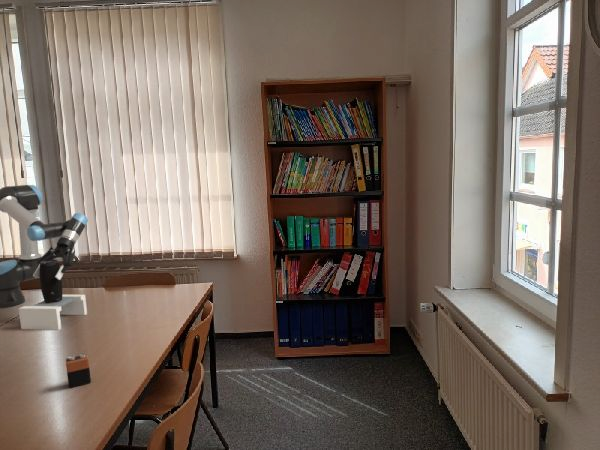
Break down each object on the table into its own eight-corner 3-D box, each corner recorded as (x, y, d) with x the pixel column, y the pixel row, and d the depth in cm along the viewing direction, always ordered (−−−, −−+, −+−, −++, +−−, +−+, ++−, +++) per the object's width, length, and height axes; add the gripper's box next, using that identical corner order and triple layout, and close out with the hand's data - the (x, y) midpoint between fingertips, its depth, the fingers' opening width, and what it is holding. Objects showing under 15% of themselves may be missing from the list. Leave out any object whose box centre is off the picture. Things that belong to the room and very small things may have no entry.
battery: (68, 383, 159) (65, 356, 158) (89, 378, 163) (86, 351, 161) (69, 388, 156) (65, 360, 154) (91, 383, 159) (88, 355, 158)
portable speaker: (59, 302, 220) (54, 261, 217) (39, 304, 219) (34, 263, 217) (67, 297, 228) (62, 258, 226) (47, 299, 227) (42, 259, 225)
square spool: (52, 313, 237) (50, 294, 236) (87, 313, 234) (85, 294, 233) (21, 329, 215) (18, 308, 214) (58, 329, 213) (56, 308, 211)
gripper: (92, 245, 230) (72, 283, 218) (53, 244, 238) (31, 280, 226) (83, 236, 225) (61, 274, 213) (43, 236, 232) (20, 272, 221)
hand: (46, 277), depth 219 cm, fingers open, 13 cm apart
